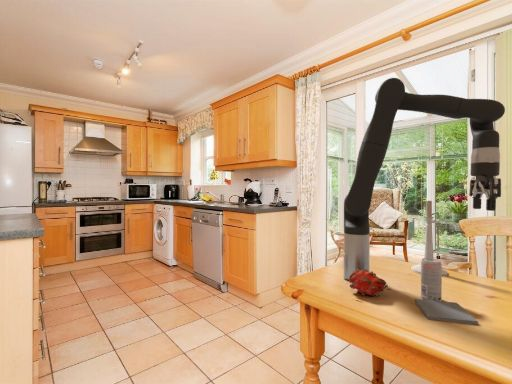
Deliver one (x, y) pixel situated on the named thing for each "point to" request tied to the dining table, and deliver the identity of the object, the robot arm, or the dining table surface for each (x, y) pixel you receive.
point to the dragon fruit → (366, 282)
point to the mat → (445, 311)
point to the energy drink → (431, 279)
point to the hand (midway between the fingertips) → (483, 209)
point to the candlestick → (428, 239)
